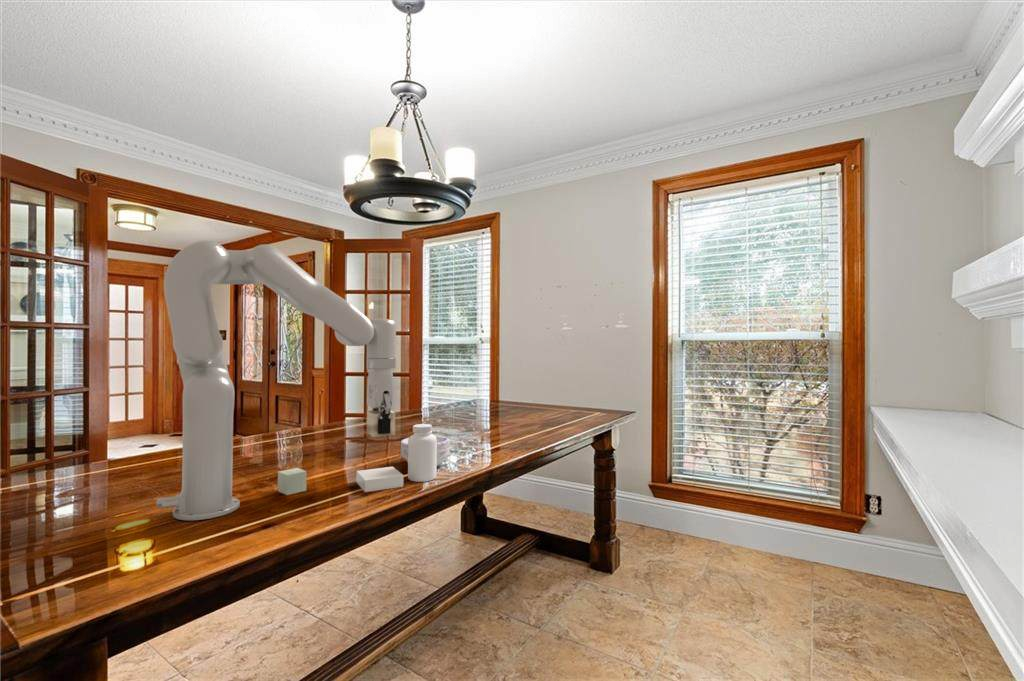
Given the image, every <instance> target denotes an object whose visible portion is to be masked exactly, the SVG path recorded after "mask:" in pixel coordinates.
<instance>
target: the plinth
mask: <svg viewBox="0 0 1024 681" xmlns="http://www.w3.org/2000/svg"><path fill="white" fill-rule="evenodd" d="M355 477H356V478H355V481H356V482H355V483H356V484H357V485H358V486H359V487H360V488H361V489H362V490H363V492H364V493H369V492H376V491H381V490H383V491H384V490H390V489H395V488H403V487H404V474H402V472H400V471H399V470H398V469H396V468H395V467H394V466H385V467H377V468H369V469H362V470H356V475H355Z"/></svg>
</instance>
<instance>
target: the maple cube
mask: <svg viewBox="0 0 1024 681" xmlns="http://www.w3.org/2000/svg"><path fill="white" fill-rule="evenodd" d="M382 411H383V410H382ZM390 412H391V413H390V414H391V425H390V433H389V434H378V419H379V410H375V411H372V410H367V411H366V434H367V435H369V436H370V437H371V438H375V437H376V438H378V437H386V436H395V435H396V412H395V411H392V410H391V411H390Z"/></svg>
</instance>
